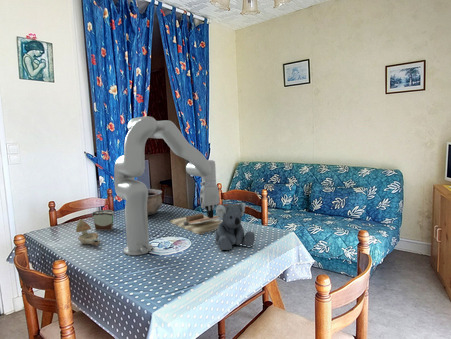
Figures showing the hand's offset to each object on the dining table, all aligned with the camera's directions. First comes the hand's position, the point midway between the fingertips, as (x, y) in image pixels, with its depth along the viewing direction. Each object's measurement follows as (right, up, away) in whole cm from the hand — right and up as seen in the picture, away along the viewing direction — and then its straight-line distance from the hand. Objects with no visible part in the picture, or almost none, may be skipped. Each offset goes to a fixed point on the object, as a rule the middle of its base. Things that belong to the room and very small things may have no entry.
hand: (210, 217), depth 168 cm
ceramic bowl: (-43, -4, +34) cm, 55 cm away
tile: (-4, -1, +4) cm, 6 cm away
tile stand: (-7, -6, +9) cm, 13 cm away
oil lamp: (-58, -10, -16) cm, 61 cm away
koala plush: (+11, -9, -23) cm, 27 cm away
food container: (-58, -8, +6) cm, 59 cm away
